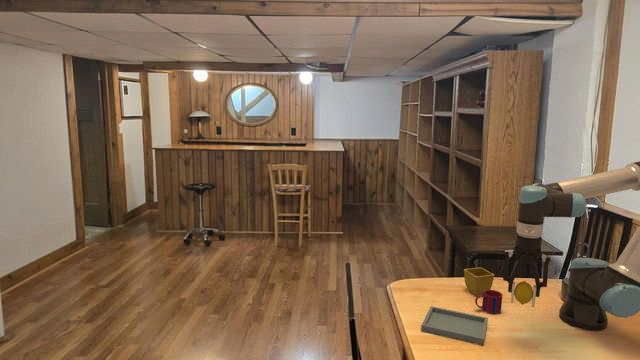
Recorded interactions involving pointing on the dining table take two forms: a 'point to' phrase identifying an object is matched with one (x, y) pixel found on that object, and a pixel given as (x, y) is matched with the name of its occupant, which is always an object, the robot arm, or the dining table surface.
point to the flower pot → (478, 280)
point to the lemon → (523, 292)
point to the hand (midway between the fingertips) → (522, 303)
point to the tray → (455, 325)
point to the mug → (491, 301)
